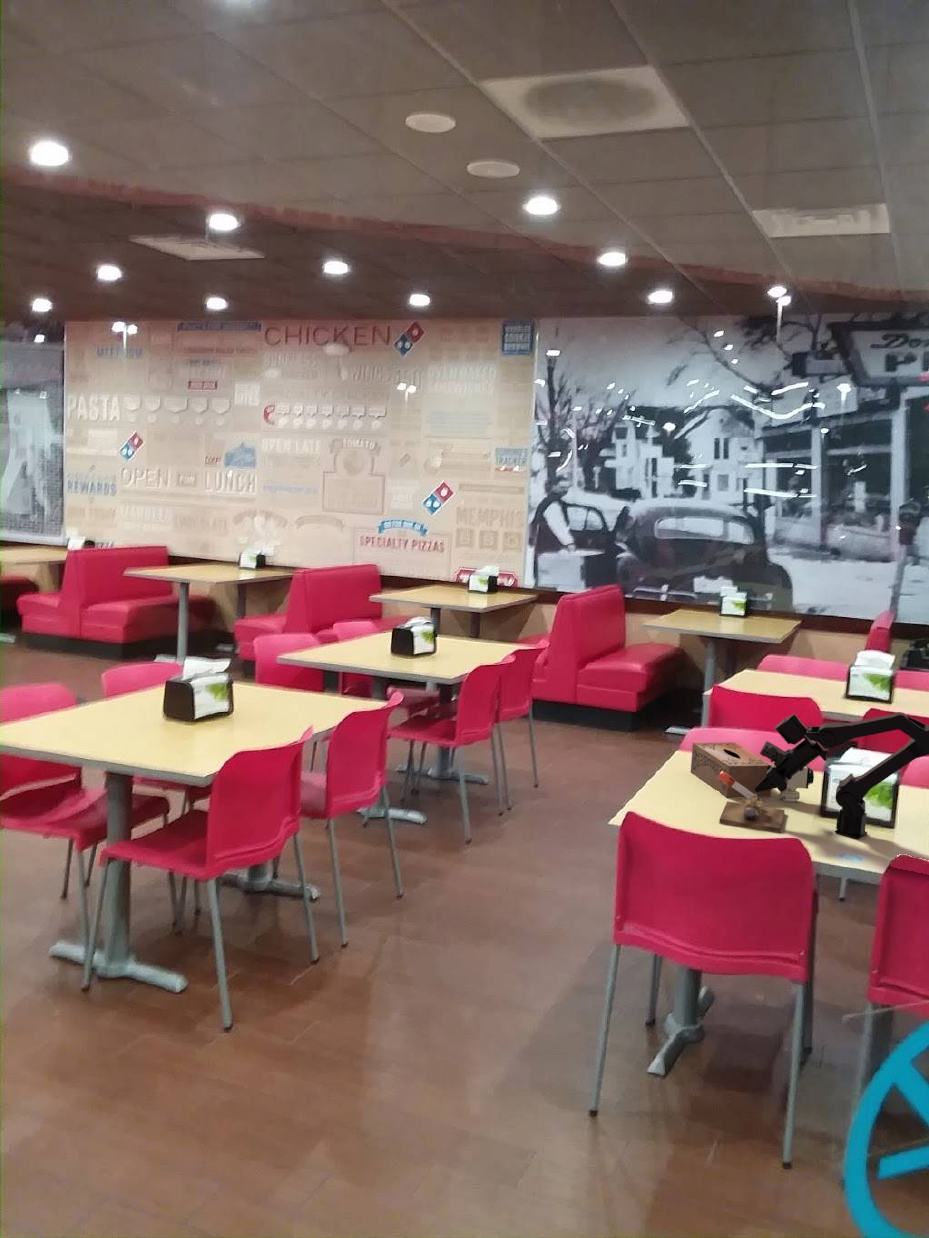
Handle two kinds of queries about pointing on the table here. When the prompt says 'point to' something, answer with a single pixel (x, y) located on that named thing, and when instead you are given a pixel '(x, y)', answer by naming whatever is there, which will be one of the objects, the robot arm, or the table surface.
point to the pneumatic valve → (797, 784)
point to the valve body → (752, 809)
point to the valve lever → (736, 785)
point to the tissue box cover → (728, 767)
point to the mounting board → (767, 821)
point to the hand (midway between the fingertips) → (755, 790)
